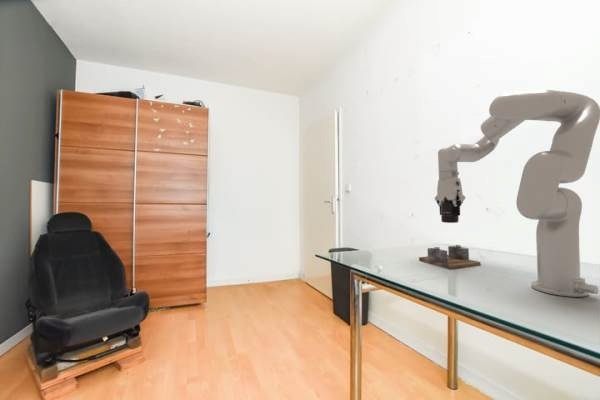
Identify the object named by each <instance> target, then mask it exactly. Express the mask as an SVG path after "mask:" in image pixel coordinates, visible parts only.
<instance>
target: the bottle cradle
mask: <svg viewBox="0 0 600 400" xmlns="http://www.w3.org/2000/svg"><path fill="white" fill-rule="evenodd" d="M447 249H448V250H445V249H441V248H440V247H439V246H434V247H429V248H427V256H421V257H418V261H420V262H423V263H426V264H431V265H433V266H436V267H440V268H443V269H447V270H456V269H457V270H459V269H465V268H472V267H479V266H481V261H478V260H473V259H470V253H469V251H470V250H469V249H470V248H468V247H462V246H461V244H455V245H448V247H447Z"/></svg>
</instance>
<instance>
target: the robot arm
mask: <svg viewBox="0 0 600 400" xmlns="http://www.w3.org/2000/svg"><path fill="white" fill-rule="evenodd" d="M488 112H489V115H490V116H489V117H488V118H486V119H485V120H484V121H483V122H482V123H481V124H480V130H481V132H482V135H483V136H482V138H480V139H479V140H478V141H476V142H475V143H474V144H473V143H469V144H468V143H467V144H466V143H465V144H464V143H456V144H453V145H451V146H449V147H443V148H441V149H439V150H438V151H437V163H438V167H437V168H438V179H437V180H438V181H437V189H436V196H435V197H434V200H435V201H436V204H437V206H438V207H439V216H441V203H442V202H443V201H444V200H443V199H444V196H446V198H447V199H448V200H449V201H452V202H453V204H454V206H455V207H453V215H454V216H461V207H462V204H463V203H464V201H465V200H466V196H465V195H464V194H463V188H462V182H461V178H460V177H459V175H460V173H459V171H458V170H459V169H458V167H459V166H458V163H475V162H478V161H480V160H482V159H484V158H485V157H487V156H488V155H489V154H491V153H492V152H493V151H494V150H495V149H496V147H497V146H498V144H499V142H500V139H501V138H503V137H504V136H505V135H507V134H508V133H509V132H511V131H512V130H514V129H516V127H518V126H519V125H520V124H522V123H523V122H525V121H541V122H542V121H543V122H557V123H560V126H559V127H558V128H557V129H556V130H555V133H554V135H553V137H552V141H551V145H550V148H549V150H544V151H540V152H537V153H535V154H534V155H532V156H531V157H530V158H529V159H528V160H527V161H526V163H525V164H524V167H523V169H522V172H521V173H522V174H521V177H520V182H519V186H518V192H517V195H516V202H515V203H516V209H517V210H518V212H519V214H520V215H522V217H524V218H526V219H529V220H534V221H536V220H537V221H538V222H537V225H536V233H535V236H536V238H535V239H536V241H535V242H536V244H535V245H536V266H537V267H536V268H537V280H533V281H531V282H530V284H531V285H530V286H531V287H532V288H533V289H535V290H536V291H540V292H543V293H546V294H549V295H556V296H562V297H569V298H571V297H573V298H581V297H583V298H584V297H588V296H589V294H593V295H597V294H599V288H598V286H597V285H595V284H589V283H587V282H586V278H584V277H583V278H582V277H581V262H580V261H581V259H580V257H581V255H580V221H581V215H582V209H583V203H582V202H583V201H582V198H581V197H580V196H579V194H578V193H577V192H576V191H574V190H572V189H570V188H566V187H560V184H570V183H574V182H577V181H579V180H581V178H582V177H583V176H584V174H585V173H586V172H585V171H586V169H587V166H588V163H589V162H588V161H589V158H590V155H591V151H592V149H593V143H594V139H595V135H596V132H597V129H598V126H599V123H600V105H599V104H598V102H597V101H596V100H594V99H593V98H592V97H589V96H587V95H584V94H581V93H577V92H571V91H570V92H569V91H561V90H553V89H538V90H536V89H535V90H525V91H514V92H513V91H512V92H505V93H501V94H499V95H498V96H497V97H495V98H494V99H493V100H492V101H491V103H490V105H489V109H488ZM456 202H457V203H456Z"/></svg>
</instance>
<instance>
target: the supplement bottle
mask: <svg viewBox="0 0 600 400" xmlns="http://www.w3.org/2000/svg"><path fill="white" fill-rule="evenodd" d="M443 200H444V201H443V202H442V203H441V215H440V217H441V220H440V221H441V223H446V224H449V223H451V224H452V223H453V224H456V223H459V218H460V217H459V216H454V215H453V207H455V206H454V204H453V202H452V201H449V200H448V199H447V198H446V196H444V199H443ZM456 203H457V202H456Z"/></svg>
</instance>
